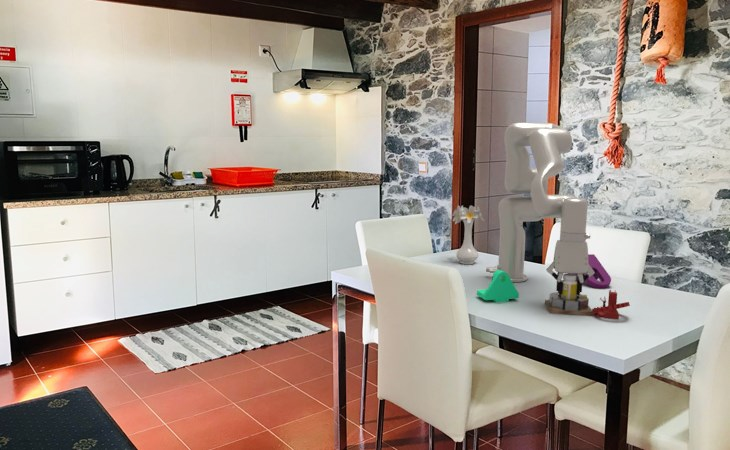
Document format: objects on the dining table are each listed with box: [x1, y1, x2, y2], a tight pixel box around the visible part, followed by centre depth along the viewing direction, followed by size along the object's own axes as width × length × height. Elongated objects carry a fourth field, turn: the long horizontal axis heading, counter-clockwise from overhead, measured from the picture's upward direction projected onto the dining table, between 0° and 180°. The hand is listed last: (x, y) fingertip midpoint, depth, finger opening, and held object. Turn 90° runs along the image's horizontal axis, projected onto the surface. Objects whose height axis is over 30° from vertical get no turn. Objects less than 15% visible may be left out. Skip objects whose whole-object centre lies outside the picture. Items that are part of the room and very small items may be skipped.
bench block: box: [544, 299, 594, 317], centre depth 194 cm, size 13×11×1 cm
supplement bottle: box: [561, 273, 578, 300], centre depth 194 cm, size 5×5×8 cm
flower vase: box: [451, 205, 485, 265], centre depth 261 cm, size 13×18×25 cm
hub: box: [548, 291, 589, 311], centre depth 194 cm, size 11×11×4 cm
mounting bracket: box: [567, 253, 612, 290], centre depth 230 cm, size 9×8×18 cm
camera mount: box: [476, 270, 520, 303], centre depth 205 cm, size 12×8×10 cm, turn 104°
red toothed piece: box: [591, 289, 631, 320], centre depth 188 cm, size 11×12×8 cm
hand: (568, 293), depth 194 cm, fingers closed on supplement bottle, 4 cm apart
